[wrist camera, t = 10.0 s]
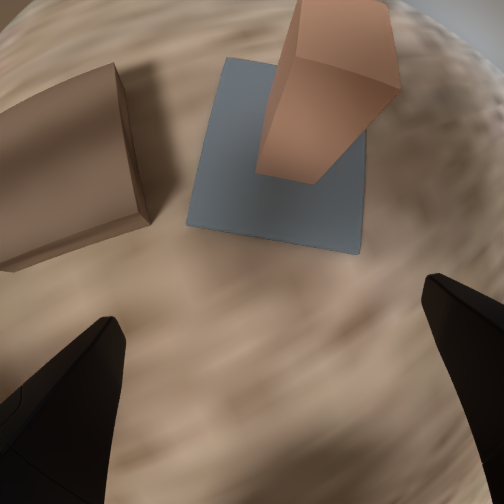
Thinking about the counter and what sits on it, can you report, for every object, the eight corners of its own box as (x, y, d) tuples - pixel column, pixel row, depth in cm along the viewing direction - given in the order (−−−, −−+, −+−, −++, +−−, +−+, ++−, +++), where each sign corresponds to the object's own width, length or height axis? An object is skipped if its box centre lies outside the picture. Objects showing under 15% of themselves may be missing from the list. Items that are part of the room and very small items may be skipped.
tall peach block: (314, 184, 18) (401, 89, 8) (255, 173, 18) (295, 56, 8) (320, 114, 19) (386, 5, 9) (266, 102, 18) (304, -22, 9)
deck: (150, 225, 17) (138, 212, 14) (13, 272, 16) (-14, 268, 13) (124, 88, 18) (113, 62, 15) (5, 140, 17) (-16, 123, 14)
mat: (355, 255, 18) (359, 254, 18) (186, 225, 17) (186, 223, 17) (362, 93, 20) (364, 89, 20) (226, 61, 19) (226, 57, 19)
